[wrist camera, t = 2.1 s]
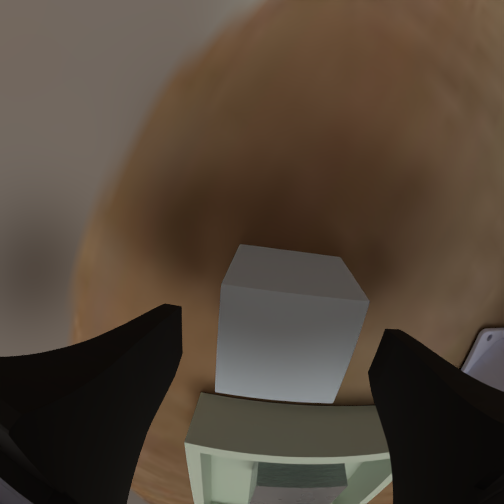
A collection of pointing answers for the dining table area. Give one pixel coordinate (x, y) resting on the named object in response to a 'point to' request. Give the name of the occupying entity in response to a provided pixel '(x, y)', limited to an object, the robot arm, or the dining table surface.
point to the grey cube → (287, 325)
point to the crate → (282, 446)
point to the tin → (296, 483)
